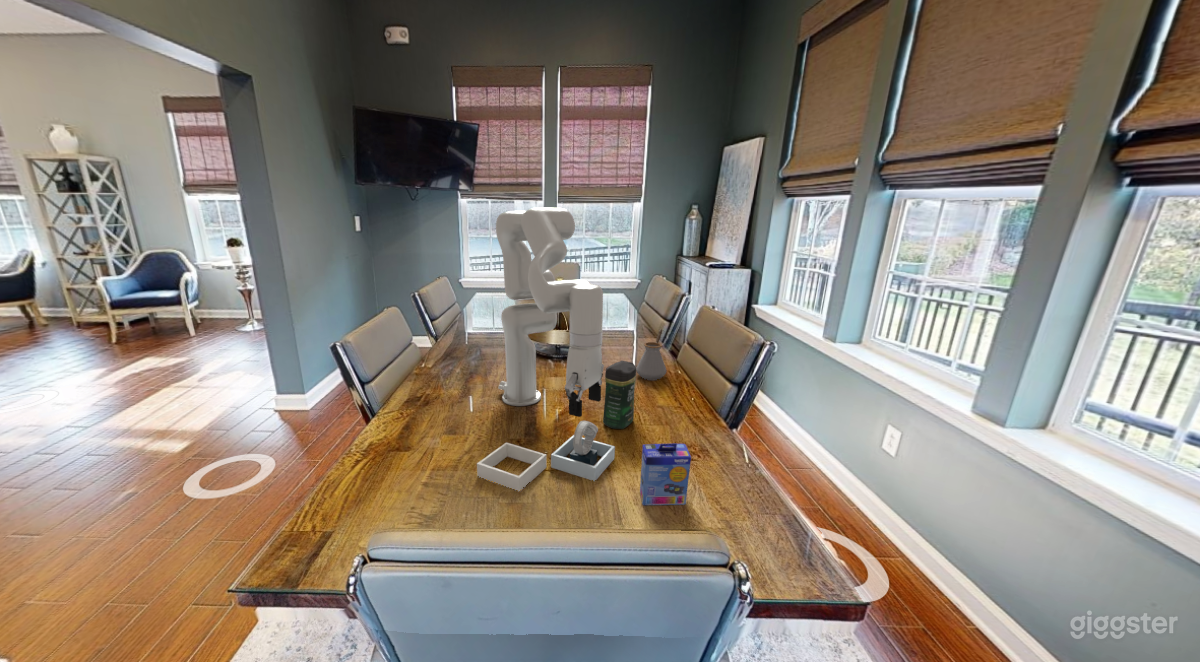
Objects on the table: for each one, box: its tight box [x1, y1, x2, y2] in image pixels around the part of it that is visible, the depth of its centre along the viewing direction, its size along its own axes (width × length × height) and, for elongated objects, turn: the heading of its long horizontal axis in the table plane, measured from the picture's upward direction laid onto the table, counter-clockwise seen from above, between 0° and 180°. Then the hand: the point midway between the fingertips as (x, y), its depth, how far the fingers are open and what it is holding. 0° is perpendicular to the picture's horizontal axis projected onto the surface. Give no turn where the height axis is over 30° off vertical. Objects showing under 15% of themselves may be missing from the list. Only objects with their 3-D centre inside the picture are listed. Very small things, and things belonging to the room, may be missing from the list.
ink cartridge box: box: [639, 442, 692, 506], centre depth 96 cm, size 10×6×14 cm, turn 95°
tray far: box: [550, 434, 616, 482], centre depth 110 cm, size 12×11×4 cm
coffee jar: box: [602, 360, 637, 430], centre depth 130 cm, size 10×8×19 cm
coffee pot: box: [636, 329, 667, 381], centre depth 171 cm, size 21×12×15 cm, turn 160°
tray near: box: [476, 442, 548, 492], centre depth 106 cm, size 12×11×4 cm
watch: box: [569, 420, 599, 466], centre depth 109 cm, size 6×8×11 cm
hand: (585, 407), depth 106 cm, fingers open, 9 cm apart
